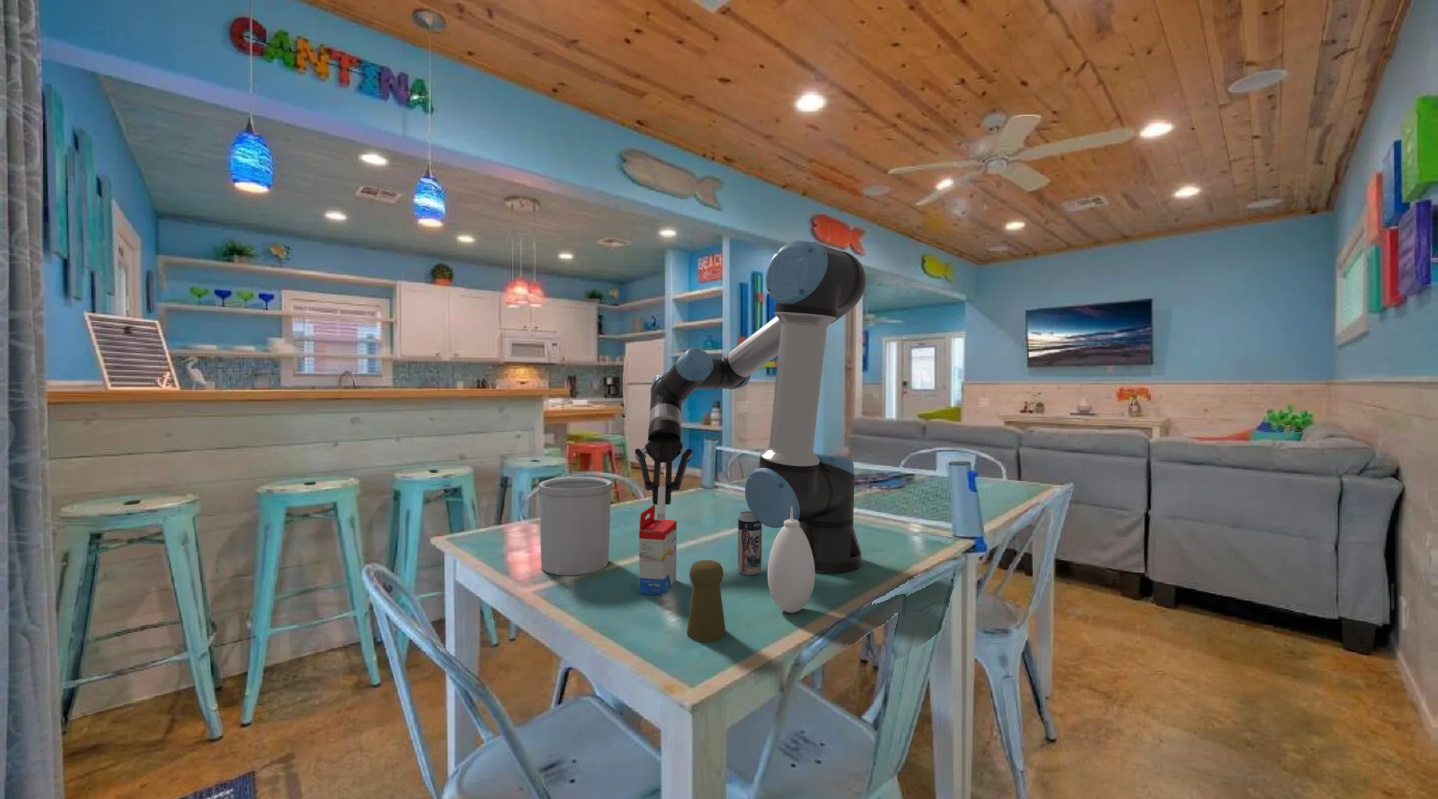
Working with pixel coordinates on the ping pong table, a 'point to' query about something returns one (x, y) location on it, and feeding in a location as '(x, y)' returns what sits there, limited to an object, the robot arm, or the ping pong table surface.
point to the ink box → (656, 553)
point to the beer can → (749, 544)
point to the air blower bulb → (791, 567)
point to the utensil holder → (574, 524)
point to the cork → (706, 602)
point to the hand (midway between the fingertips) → (660, 516)
